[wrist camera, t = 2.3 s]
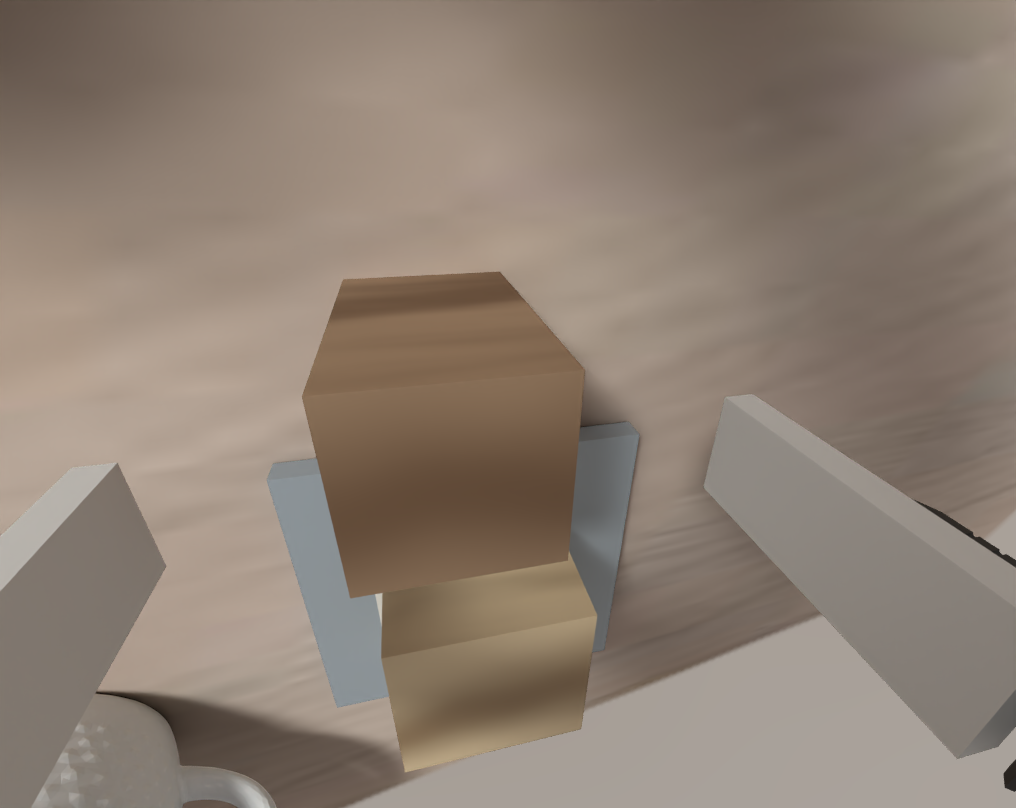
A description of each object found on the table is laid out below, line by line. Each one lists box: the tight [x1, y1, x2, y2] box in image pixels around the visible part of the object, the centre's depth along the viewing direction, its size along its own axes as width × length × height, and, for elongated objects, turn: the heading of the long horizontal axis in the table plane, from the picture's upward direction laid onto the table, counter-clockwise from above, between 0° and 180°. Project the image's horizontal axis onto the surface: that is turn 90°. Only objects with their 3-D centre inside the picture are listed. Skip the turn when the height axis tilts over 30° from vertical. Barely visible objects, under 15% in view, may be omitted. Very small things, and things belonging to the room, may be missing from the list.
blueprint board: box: [267, 422, 639, 708], centre depth 21 cm, size 14×14×1 cm
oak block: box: [381, 552, 597, 773], centre depth 19 cm, size 7×7×5 cm
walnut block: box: [302, 272, 585, 599], centre depth 13 cm, size 5×5×8 cm
